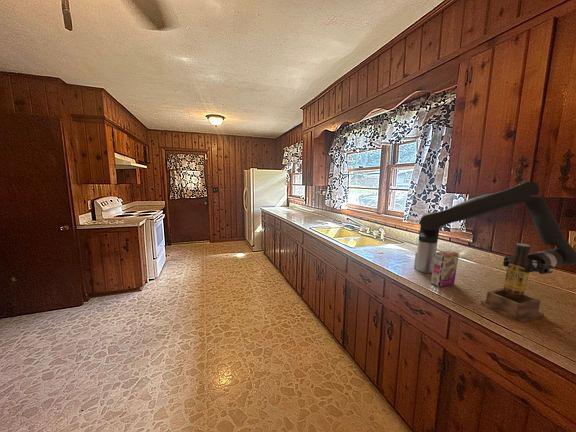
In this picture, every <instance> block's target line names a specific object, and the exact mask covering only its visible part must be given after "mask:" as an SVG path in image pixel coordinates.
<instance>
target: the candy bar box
mask: <svg viewBox="0 0 576 432" xmlns="http://www.w3.org/2000/svg"><path fill="white" fill-rule="evenodd" d="M459 254H460V253H459V252H456V251H452V250H444V251H436V252H435V254H434V262H433V269H432V273H431V277H430V284H431V285H433V286H435V287H437V288H441V287H446V286H451V285H455V280H456V273H457V269H458V268H457V267H458V262H459Z"/></svg>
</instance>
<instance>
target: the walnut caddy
mask: <svg viewBox="0 0 576 432" xmlns="http://www.w3.org/2000/svg"><path fill="white" fill-rule="evenodd" d="M541 300H542V299H539V298H537V297H533V296H531V295H529V294H525V293H524V294H522V295H516V294H513V293H509V292H507V291H505V290H504V287H500V288H498V289H493V290H489V291H487V293H486V298H485V300H482V301H480V305H482V306H484V307H486V308H489V309H491V310H494V311H496V312H497V313H500V314H502V315H505V316H506V317H509V318H511V319H512V320H515V321H518V322H520V323H522V324H524V323H526V322H529V321H532V320H535V319H537V318H540V317H543V316H544V312H543V311H540V304H541Z"/></svg>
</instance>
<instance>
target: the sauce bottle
mask: <svg viewBox="0 0 576 432" xmlns="http://www.w3.org/2000/svg"><path fill="white" fill-rule="evenodd" d="M530 250H531V245H530V244H527V243H516V244H515V252H514V254H513V255H511V256H512V257H511V258H510V261H509V263H508V266H507V268H506V274H505V278H504V283H503V288H504V290H505V291H507V292H509V293H513V294H516V295H522V294H525V291H526V289H527V284H528V278H529V274H530V273H526V272H525V268H526V267H528V266H530V261H529V260H528V254H530V253H529V252H530Z"/></svg>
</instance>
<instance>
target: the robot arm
mask: <svg viewBox="0 0 576 432" xmlns="http://www.w3.org/2000/svg"><path fill="white" fill-rule="evenodd" d="M538 186H539V185H537V183H534V182H524V183H522V184H520V183H518V184H517V185H516V186H512V187H509V188H507V189H505V190H501V191H497V192H493V193H486V194H482V195H479V196H476V197H472V198H470V199H467V200H464V201H461V202H460V203H457V204H455V205H453V206H451V207H449V208H446V209H444V210H440V211H437V212H431V211H429V212H426V213H424V214H423V215H421V217H420V220H419V223H420V224H419V225H420V228H419V234H418V242H417V251H416V252H415V255H414V263H413V268H414V269H415V270H416V271H417V272H421V273H425V274H432V269H433V262H434V254H435V252H437V249H438V243H439V242H438V240H439V235H440V234H439V233H440V228H441V227H444V226H446V225H449V224H453V223H457V222H460V221H461V222H462V221H466V220H469V219H473V218H476V217H481V216H483V215H487V214H490V213H494V212H496V211H498V210H501V209H504V208H506V207H509V206H513V205H517V204H522V203H524V205H525V207H526V209H527V210H528V212H529V215H530V217H531V218H532V221H533V223H534V226H535V228H536V231H537V233H538V236H539V238H540V241H541V242H542V243H543V245H548V246H555V247H557V248H547V249H544V250H542V251H536V252H531V253H528V260H529V261H530V266H528V267H526V268H525V272H526V273H529V274H530V273H538V274H540V275H546V274H552V273H553V271H554V268H556V267H558V266H561V265H563V266H564V265H566V266H567V265H568V266H569V265H570V266H571V265H576V249H575V248H574V247H573V246H572V245H571V243H569V242H568V241H567V239H566V238H565V236H564V234H563V231H562V229H561V227H560V225H559V223H558V221H557V220H556V219H555V217H554V216H553V214H552V212H551V211H550V209H549V207H548V205H547V203H546V200H545V197H544V198H542V197H528V196H531V195H538V192H539V191H540V190H539V187H538ZM538 190H539V191H538ZM512 256H513V255H508V256H504V259H503V264H502V265H503V267H508V263H509V261H510V258H511V257H512Z"/></svg>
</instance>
